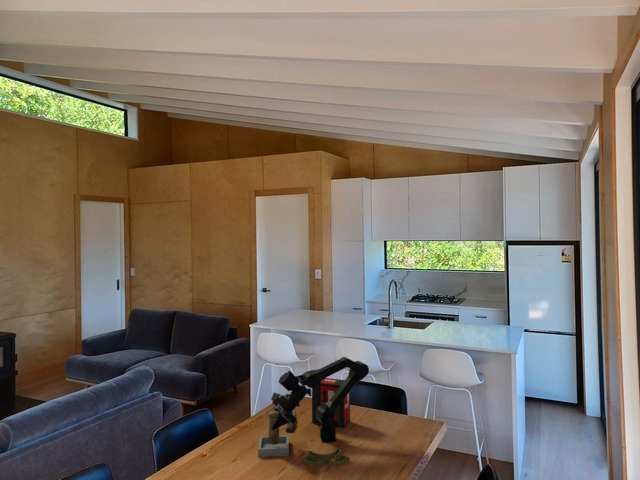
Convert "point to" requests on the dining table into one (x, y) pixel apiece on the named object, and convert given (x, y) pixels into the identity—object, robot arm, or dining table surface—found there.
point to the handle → (272, 419)
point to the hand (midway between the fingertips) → (270, 427)
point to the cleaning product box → (324, 394)
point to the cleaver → (290, 425)
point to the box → (273, 447)
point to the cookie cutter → (316, 456)
